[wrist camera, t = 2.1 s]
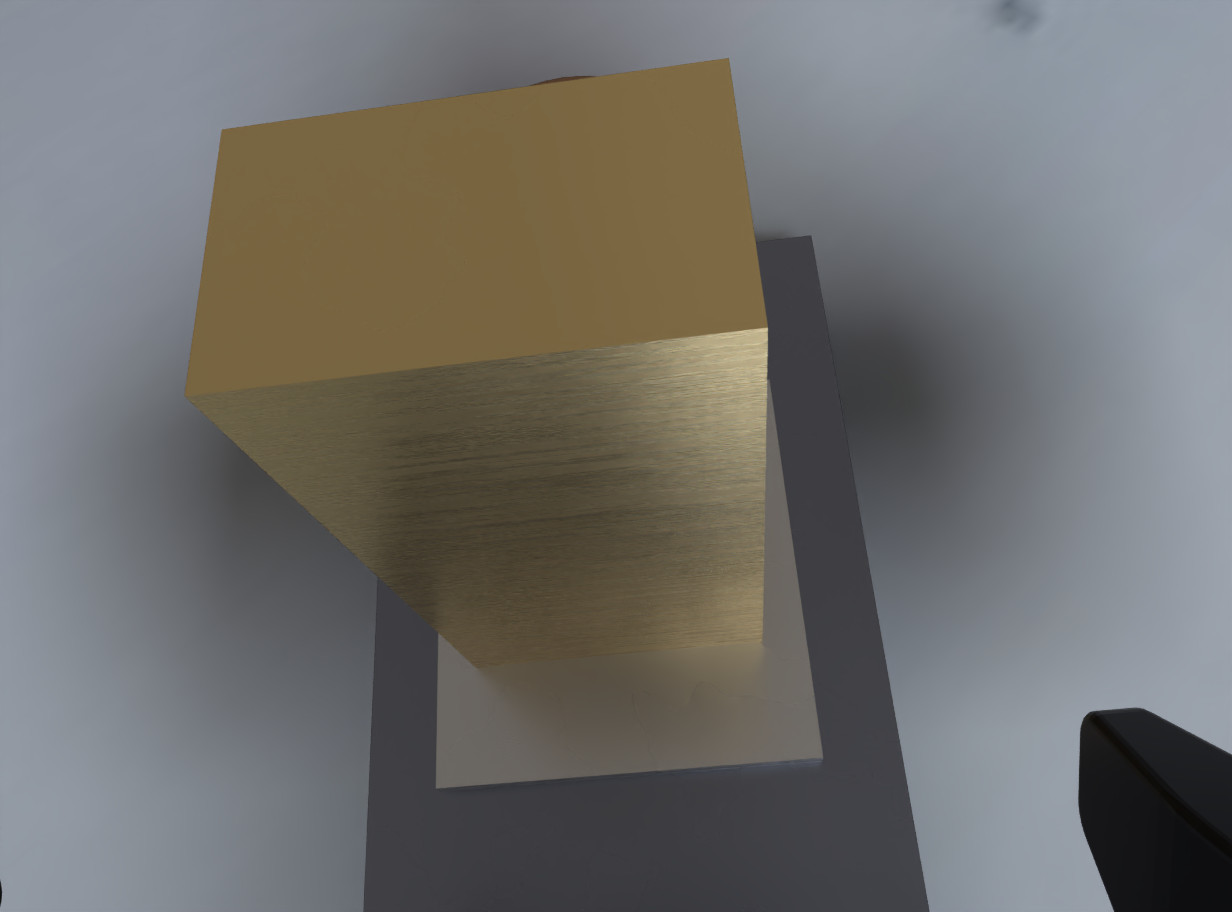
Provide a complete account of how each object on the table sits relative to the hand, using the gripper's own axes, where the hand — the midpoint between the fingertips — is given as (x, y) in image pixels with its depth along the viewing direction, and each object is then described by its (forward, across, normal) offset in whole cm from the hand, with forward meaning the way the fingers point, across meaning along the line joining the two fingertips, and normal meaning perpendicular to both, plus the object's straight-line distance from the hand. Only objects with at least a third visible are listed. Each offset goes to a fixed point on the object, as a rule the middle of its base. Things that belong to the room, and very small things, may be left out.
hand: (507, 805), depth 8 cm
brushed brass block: (+10, 0, +3) cm, 10 cm away
